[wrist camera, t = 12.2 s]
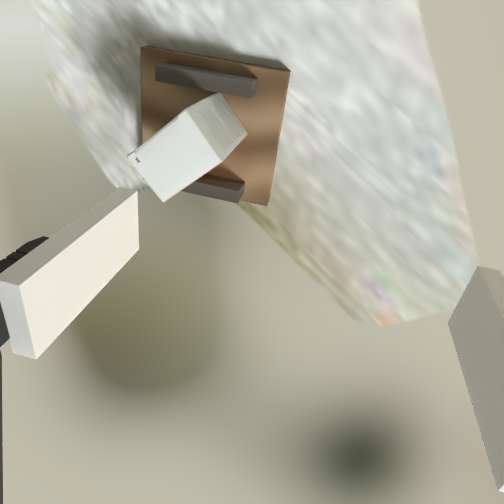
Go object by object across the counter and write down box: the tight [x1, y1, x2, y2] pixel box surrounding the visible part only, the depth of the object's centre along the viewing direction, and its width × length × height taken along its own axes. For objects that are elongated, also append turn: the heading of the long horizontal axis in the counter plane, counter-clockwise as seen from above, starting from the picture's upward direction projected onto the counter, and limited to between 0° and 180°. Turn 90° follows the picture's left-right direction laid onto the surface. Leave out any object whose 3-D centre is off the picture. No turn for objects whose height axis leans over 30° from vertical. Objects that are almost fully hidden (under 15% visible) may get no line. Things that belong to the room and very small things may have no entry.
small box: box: [127, 92, 248, 202], centre depth 41 cm, size 8×6×10 cm
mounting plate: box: [141, 46, 290, 206], centre depth 44 cm, size 15×16×4 cm
